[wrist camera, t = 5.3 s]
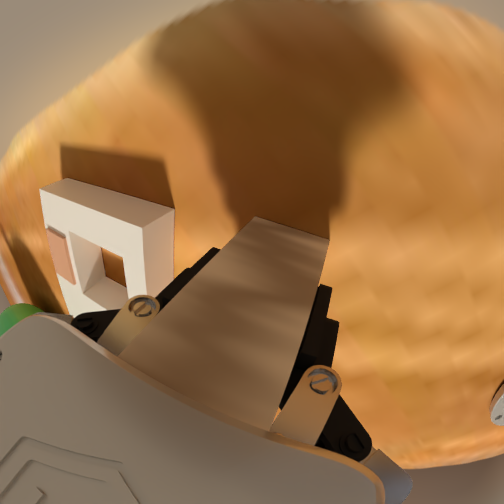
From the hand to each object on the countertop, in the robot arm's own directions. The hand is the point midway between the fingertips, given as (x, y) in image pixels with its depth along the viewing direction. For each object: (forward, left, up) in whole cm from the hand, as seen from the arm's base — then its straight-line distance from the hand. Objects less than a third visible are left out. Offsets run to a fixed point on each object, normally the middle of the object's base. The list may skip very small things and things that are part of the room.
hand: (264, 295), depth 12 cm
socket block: (+13, +10, -3) cm, 17 cm away
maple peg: (0, 0, -3) cm, 3 cm away
